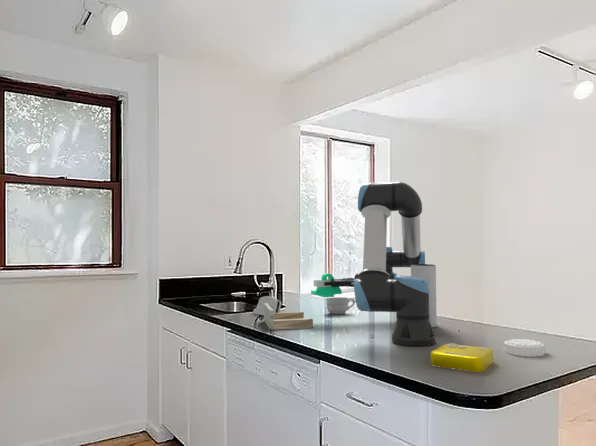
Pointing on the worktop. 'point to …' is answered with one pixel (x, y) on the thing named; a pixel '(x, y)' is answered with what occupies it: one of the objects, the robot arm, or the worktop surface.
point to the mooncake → (524, 347)
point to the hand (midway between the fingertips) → (315, 283)
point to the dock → (285, 319)
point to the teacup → (338, 304)
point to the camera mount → (327, 288)
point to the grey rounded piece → (271, 301)
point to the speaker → (430, 275)
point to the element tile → (462, 357)
